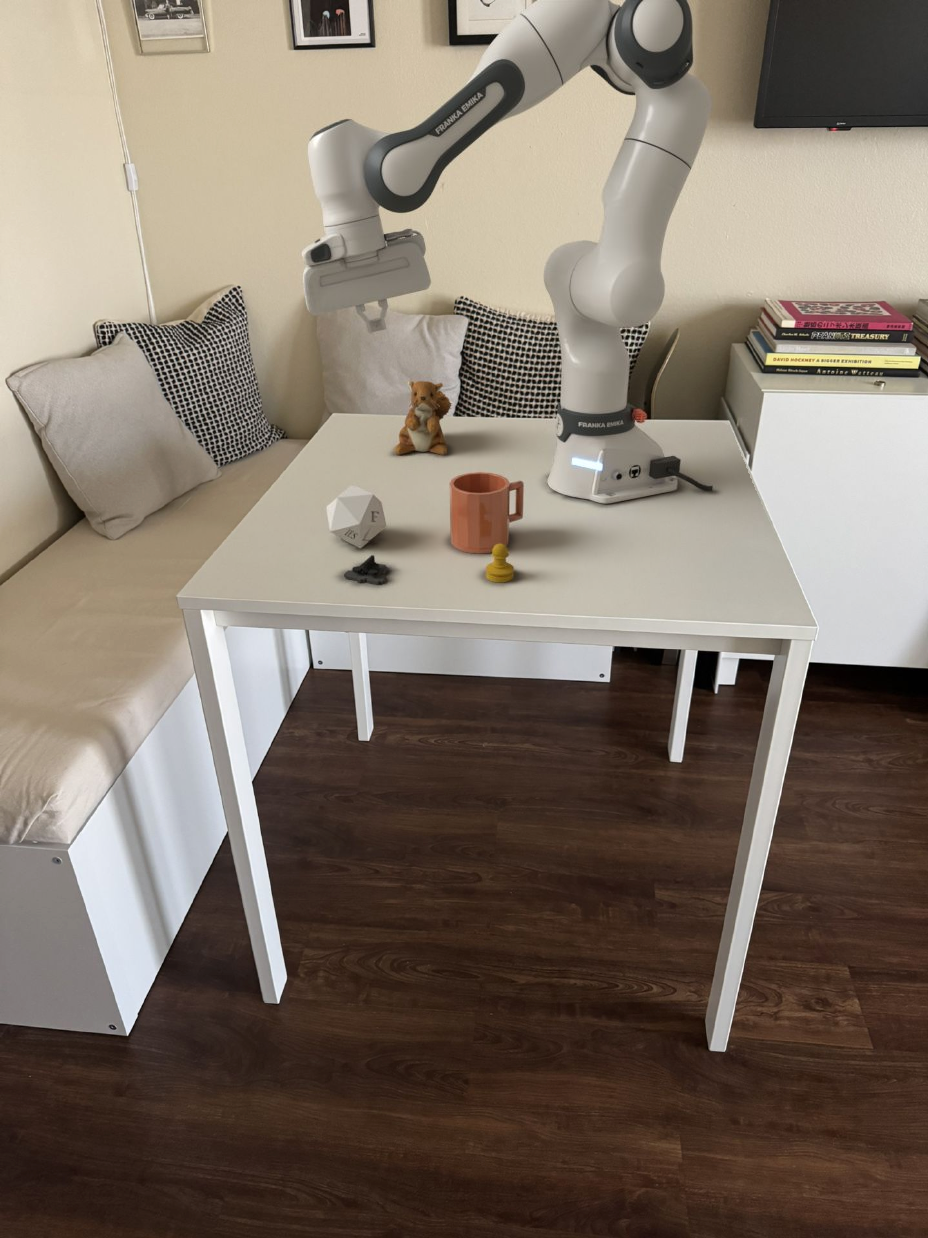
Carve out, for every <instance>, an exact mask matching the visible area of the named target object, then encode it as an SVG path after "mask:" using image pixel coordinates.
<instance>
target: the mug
mask: <svg viewBox="0 0 928 1238" xmlns="http://www.w3.org/2000/svg"><path fill="white" fill-rule="evenodd" d="M524 483H525V482H524V481H522V480H515V481H512V482H510V481H509V479H508V478H507V477H505V476H503V475H501V474H498V473H492V472H486V471H485V472H483V471H477V472H467V473H464V474H463V473H462V474H459V475H457V476H455V477H453V478H451V480H450V482H449V527H450V529H449V531H450V542H451V545H452V546H453V548H455V549H456V550H458V551H461V552H463V553H464V552H465V553H469V554H479V555H480V554H490V553H491V554H492V550H493V547H494V546H495V545H496V544H504V545H505V546H506V547H507V546H508V544H509V538H510V523H514V522H518V521H520V520H522V519H523V517H524V491H525V490H524V489H525V488H524V487H525V484H524ZM512 491H515V504H514V505H515V506H514V507H515V509H514V511H515V512H513V513H510V501H511V500H510V498H511V497H510V496H511V494H510V493H511V492H512Z"/></svg>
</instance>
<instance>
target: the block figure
mask: <svg viewBox="0 0 928 1238" xmlns="http://www.w3.org/2000/svg"><path fill="white" fill-rule="evenodd" d="M389 569H390V568H388V566H387V565H386V564H383V563H377V562H376V559H375V555H374V554H371V555H370V556H369V557H368V558H367V559H366V560H364V561H363V562H362V563H361V564H360V565H358V566H353V567H352V568H351V570H347V571H345V572H344V574H343V577H344V578H345V579H346V580H350V581H356V583H358V584H361V583H365V582H366V583H367V584H372V585H376V586H377V585H380V584H381V585H383V583H385V582H386V581H387V577H386V574H387V573H389V572H390V571H389Z"/></svg>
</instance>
